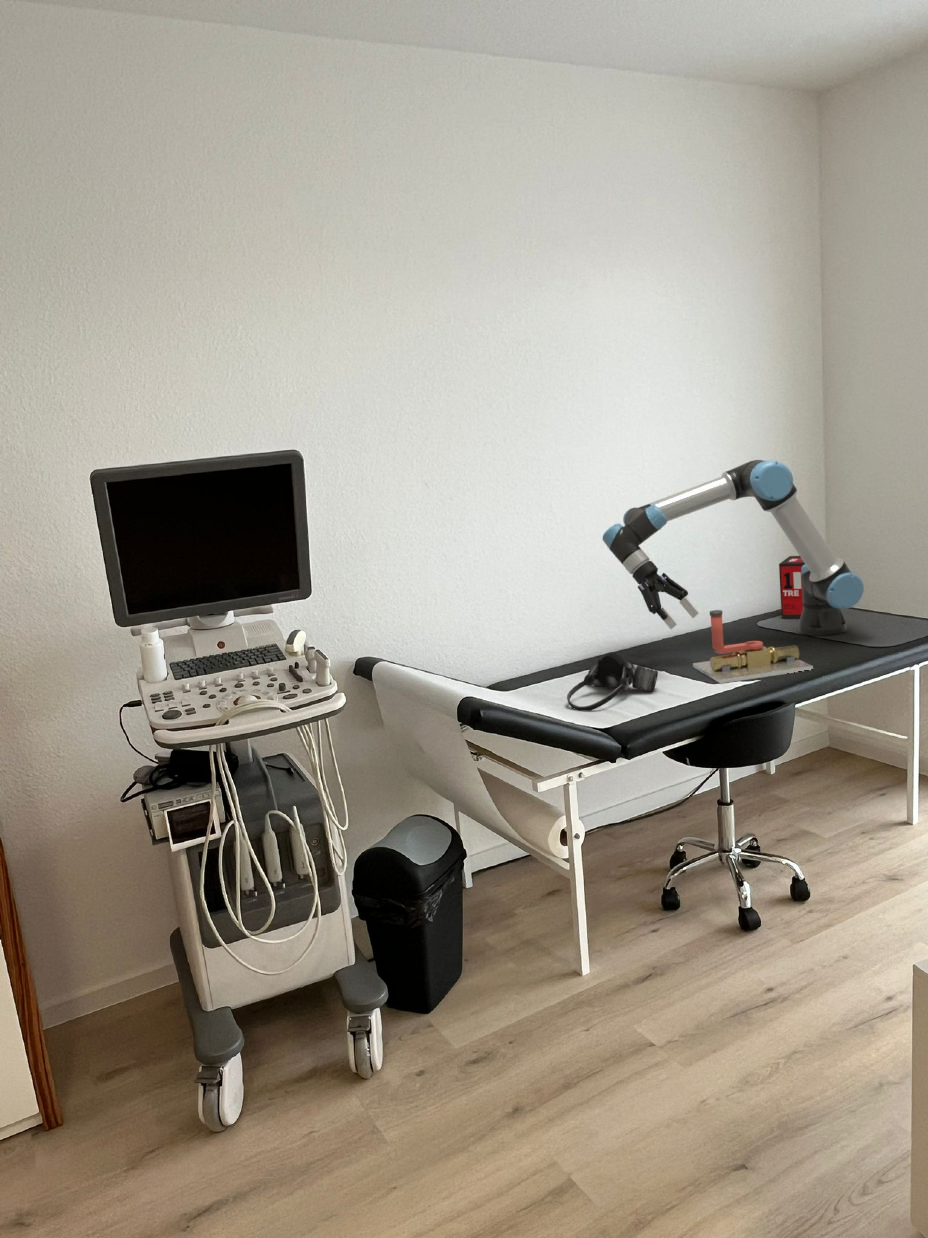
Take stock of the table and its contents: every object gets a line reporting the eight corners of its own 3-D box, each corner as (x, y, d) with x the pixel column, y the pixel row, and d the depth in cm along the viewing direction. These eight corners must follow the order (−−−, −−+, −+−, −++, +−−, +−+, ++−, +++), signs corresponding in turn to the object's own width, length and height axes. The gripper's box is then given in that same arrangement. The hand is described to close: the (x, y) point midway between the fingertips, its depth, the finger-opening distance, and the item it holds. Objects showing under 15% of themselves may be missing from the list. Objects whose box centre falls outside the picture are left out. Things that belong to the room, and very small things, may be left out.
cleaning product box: (792, 609, 362) (789, 556, 358) (817, 609, 358) (814, 555, 354) (781, 619, 348) (778, 563, 345) (807, 619, 344) (805, 563, 340)
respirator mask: (668, 676, 280) (645, 641, 270) (637, 746, 270) (612, 713, 260) (602, 669, 295) (578, 636, 285) (571, 736, 285) (545, 704, 275)
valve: (779, 654, 302) (778, 635, 301) (812, 669, 281) (812, 649, 280) (693, 667, 298) (691, 648, 297) (720, 683, 278) (719, 663, 277)
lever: (758, 644, 291) (756, 603, 289) (765, 648, 286) (763, 606, 284) (709, 652, 289) (706, 610, 287) (716, 655, 284) (713, 613, 282)
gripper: (654, 566, 311) (697, 618, 305) (611, 584, 293) (656, 638, 287) (668, 552, 306) (712, 603, 300) (626, 568, 288) (672, 623, 282)
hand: (685, 621), depth 294 cm, fingers open, 13 cm apart
